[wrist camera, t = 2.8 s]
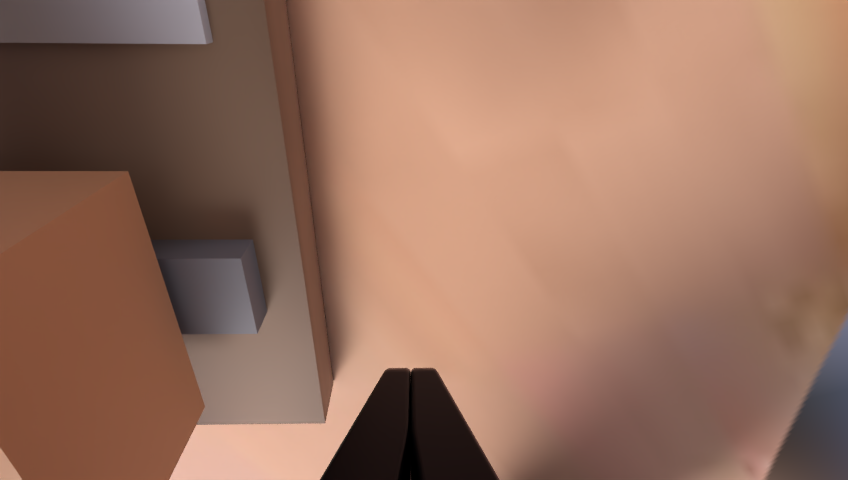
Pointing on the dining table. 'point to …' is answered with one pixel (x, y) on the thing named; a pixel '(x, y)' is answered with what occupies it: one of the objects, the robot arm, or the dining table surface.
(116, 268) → the sliding jaw
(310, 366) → the base
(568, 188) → the dining table surface
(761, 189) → the dining table surface
